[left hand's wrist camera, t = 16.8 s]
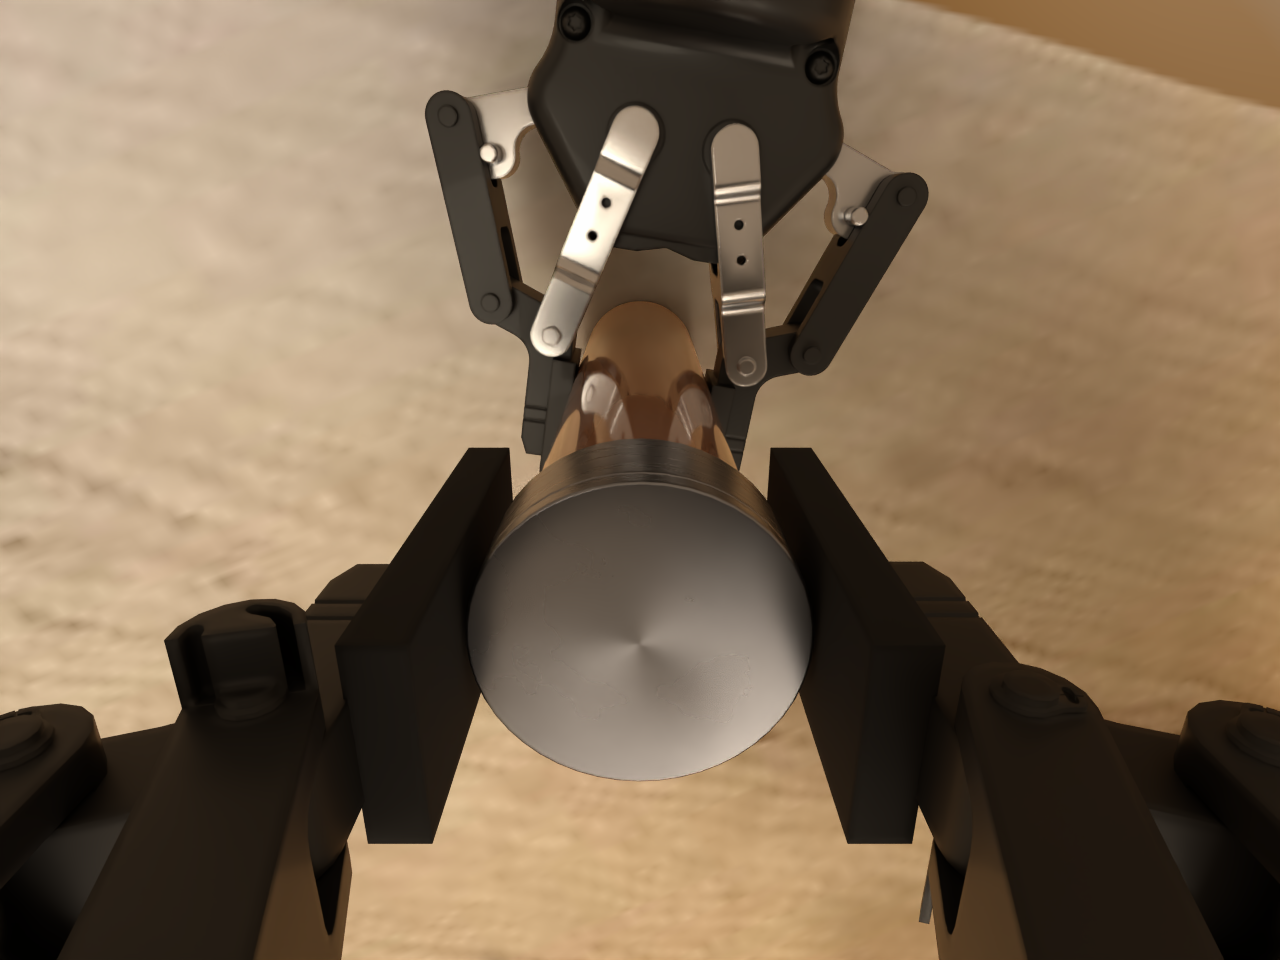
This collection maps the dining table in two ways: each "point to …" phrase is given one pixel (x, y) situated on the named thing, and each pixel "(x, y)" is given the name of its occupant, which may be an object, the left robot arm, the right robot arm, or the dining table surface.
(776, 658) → the lid
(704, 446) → the brown capped cylinder
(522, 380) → the dining table surface
